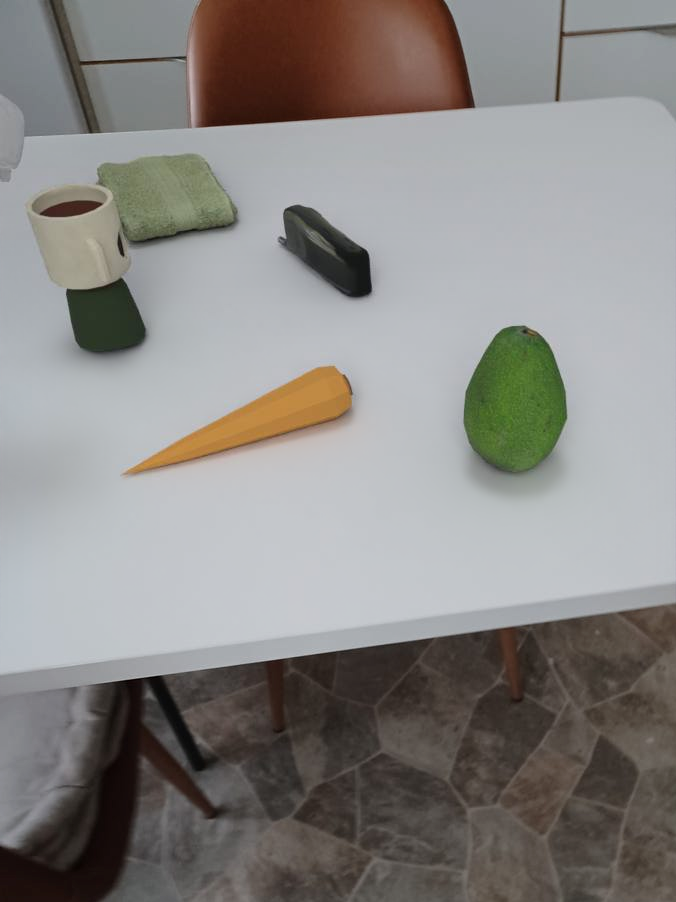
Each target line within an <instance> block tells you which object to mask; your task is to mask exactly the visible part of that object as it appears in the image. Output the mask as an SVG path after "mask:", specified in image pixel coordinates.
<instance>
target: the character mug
mask: <svg viewBox="0 0 676 902" xmlns="http://www.w3.org/2000/svg"><path fill="white" fill-rule="evenodd" d="M24 205H25V211H26V215H27V218H28V220H29V224H30V226H31V230H32V232H33V235H34V238H35V241H36V244H37V246H38V249H39V253H40V256H41V258H42V261H43V264H44V268H45V269H46V272H47V276H48V278H49V280H50V282H52V283H53V284H54V285H56V286H58V287H60V288H64V289H66V291H65V297H66V302H67V307H68V314H69V319H70V323H71V328H72V333H73V335H74V341H75V343H76V344H77V345H78V346H79V348H80V349H83V350H85V351H90V352H102V351H103V352H106V351H112V350H117V349H123V348H127V347H130V346H135V345H137V344H138V343H140V341H141V340H143V339H144V338H145V337H146V336H145V335H146V330H147V328H146V325H145V323H144V320H143V318H142V316H141V313H140V310H139V308H138V306H137V303H136V301H135V299H134V297H133V293H131V290H130V288H129V286H128V284H127V282H126V281H125V279H124V278H123V276H125V275H126V274H127V272H128V271H129V269H130V268H131V264H132V259H131V254H130V251H129V247H128V244H127V240H126V237H125V236H126V235H125V232H124V231H123V228H122V226H121V222H120V218H119V214H118V211H117V207H116V204H115V200H114V197H113V194H112V192H111V191H110V190H109V189H107V188H105V187H103V186H100V185H96V184H95V183H94V184H93V183H87V182H86V183H84V182H83V183H82V182H81V183H79V182H77V183H75V182H74V183H73V182H72V183H67V184H59V185H55V186H52V187H48V188H45V189H42V190H40V191H38V192H36V193H35V194H33V195H32V196H30V197H29V199H28V200H27V201H26V203H24Z"/></svg>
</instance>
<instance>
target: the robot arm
mask: <svg viewBox="0 0 676 902" xmlns="http://www.w3.org/2000/svg"><path fill="white" fill-rule="evenodd" d="M25 136H26V119H25V115H24V113H23V111H22V110H21V108H20V107H18V106H17V105H16V104H15V103H13V101H12V100H10V99H8V98H7V97H6V96H5V95H2V93H0V183H9V182H10V180H11V178H12V177H11V175H12V170H15V169H17V168H18V166H19V165H20V162H21V159H22V155H23V150H24V145H25Z"/></svg>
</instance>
